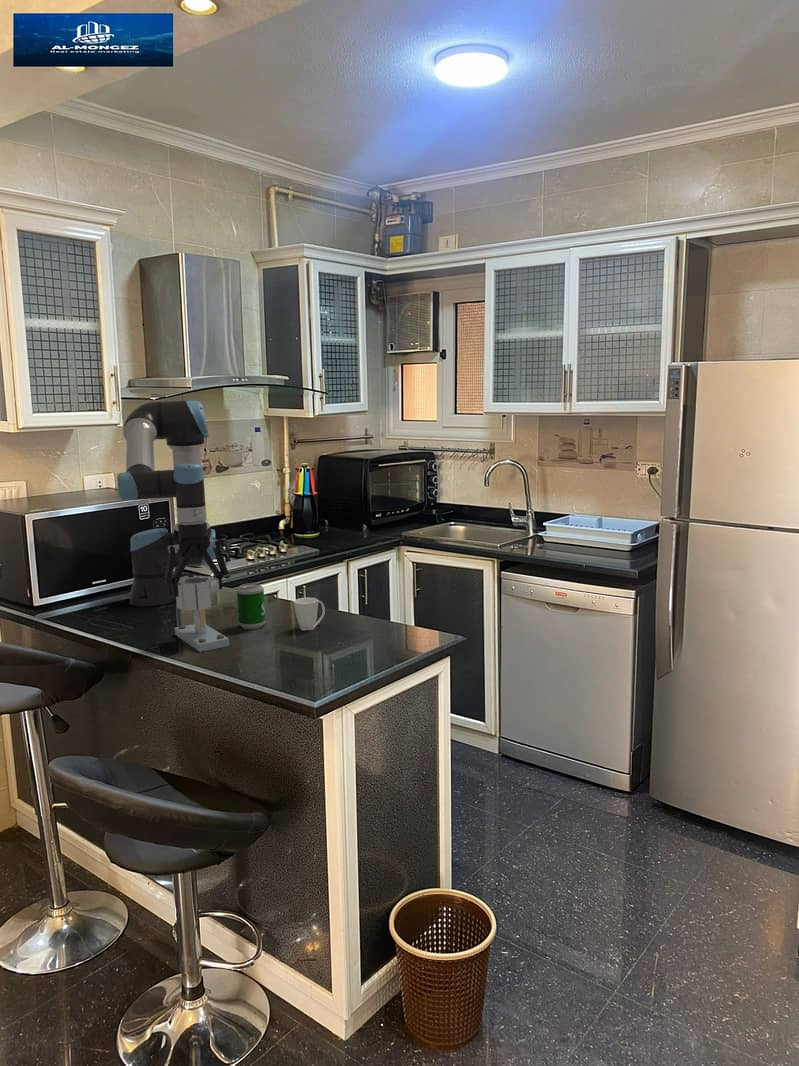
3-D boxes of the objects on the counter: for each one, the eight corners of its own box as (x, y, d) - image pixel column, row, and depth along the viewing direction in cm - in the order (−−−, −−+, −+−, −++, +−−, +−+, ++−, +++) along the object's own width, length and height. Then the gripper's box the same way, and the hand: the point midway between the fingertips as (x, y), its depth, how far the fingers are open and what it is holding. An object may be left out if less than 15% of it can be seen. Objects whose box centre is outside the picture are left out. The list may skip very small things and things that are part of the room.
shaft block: (175, 634, 219) (172, 603, 217) (202, 629, 223) (200, 598, 222) (199, 652, 202) (197, 618, 201) (229, 645, 207) (227, 612, 205)
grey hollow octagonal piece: (175, 605, 213) (173, 579, 211) (209, 599, 218) (207, 574, 217) (187, 612, 205) (185, 586, 204) (222, 606, 210) (220, 580, 209)
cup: (289, 629, 220) (287, 601, 219) (316, 621, 228) (315, 594, 226) (305, 633, 216) (304, 604, 214) (333, 625, 223) (331, 597, 221)
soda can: (260, 630, 220) (257, 588, 218) (235, 629, 222) (232, 588, 220) (269, 623, 227) (267, 582, 225) (245, 622, 229) (242, 582, 227)
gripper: (154, 528, 198) (161, 614, 202) (237, 519, 210) (243, 600, 214) (145, 525, 205) (153, 609, 208) (227, 516, 217) (232, 595, 220)
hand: (198, 604), depth 211 cm, fingers closed on grey hollow octagonal piece, 9 cm apart
